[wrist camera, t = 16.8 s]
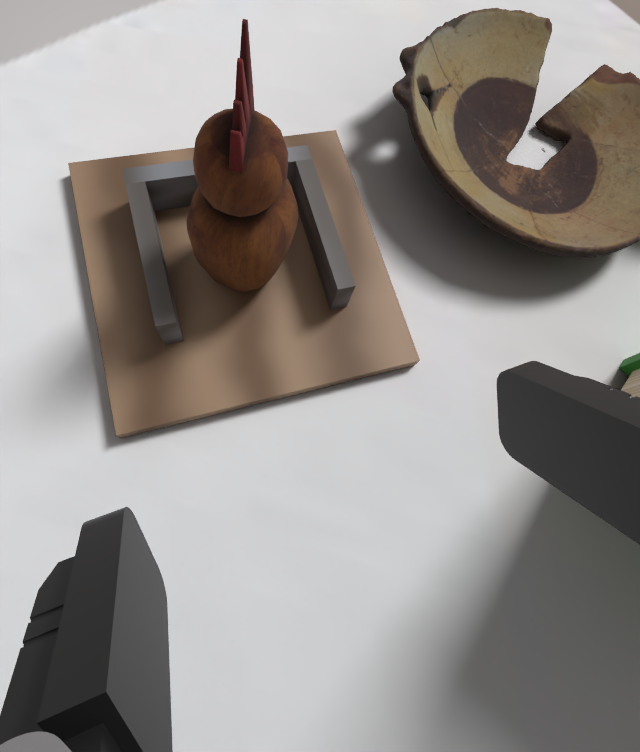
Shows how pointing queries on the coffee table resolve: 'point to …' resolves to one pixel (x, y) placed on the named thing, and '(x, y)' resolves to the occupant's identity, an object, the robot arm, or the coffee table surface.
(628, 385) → the hardback book
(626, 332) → the coffee table surface
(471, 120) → the oil lamp
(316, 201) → the keeper cradle
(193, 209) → the wooden figurine
